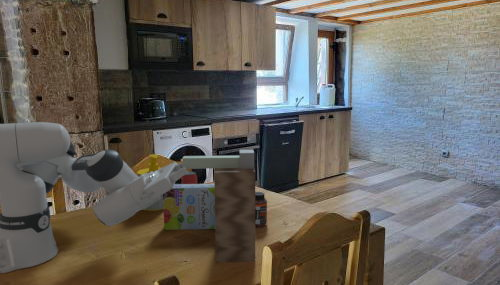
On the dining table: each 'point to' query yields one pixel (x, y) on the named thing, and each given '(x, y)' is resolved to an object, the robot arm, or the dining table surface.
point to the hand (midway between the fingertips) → (188, 165)
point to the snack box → (189, 207)
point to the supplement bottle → (260, 209)
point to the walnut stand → (235, 214)
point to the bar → (220, 161)
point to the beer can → (189, 178)
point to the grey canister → (152, 167)
